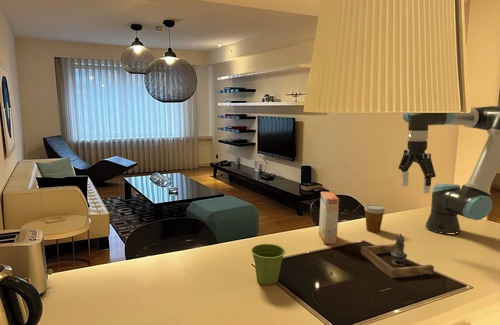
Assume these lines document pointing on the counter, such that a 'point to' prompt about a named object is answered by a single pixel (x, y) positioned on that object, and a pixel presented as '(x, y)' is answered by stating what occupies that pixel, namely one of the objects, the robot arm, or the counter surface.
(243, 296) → the counter surface
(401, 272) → the brown u-shaped bracket
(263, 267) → the plant pot
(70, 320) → the counter surface
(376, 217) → the disposable coffee cup
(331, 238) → the cracker box
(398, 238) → the dark grey candlestick
